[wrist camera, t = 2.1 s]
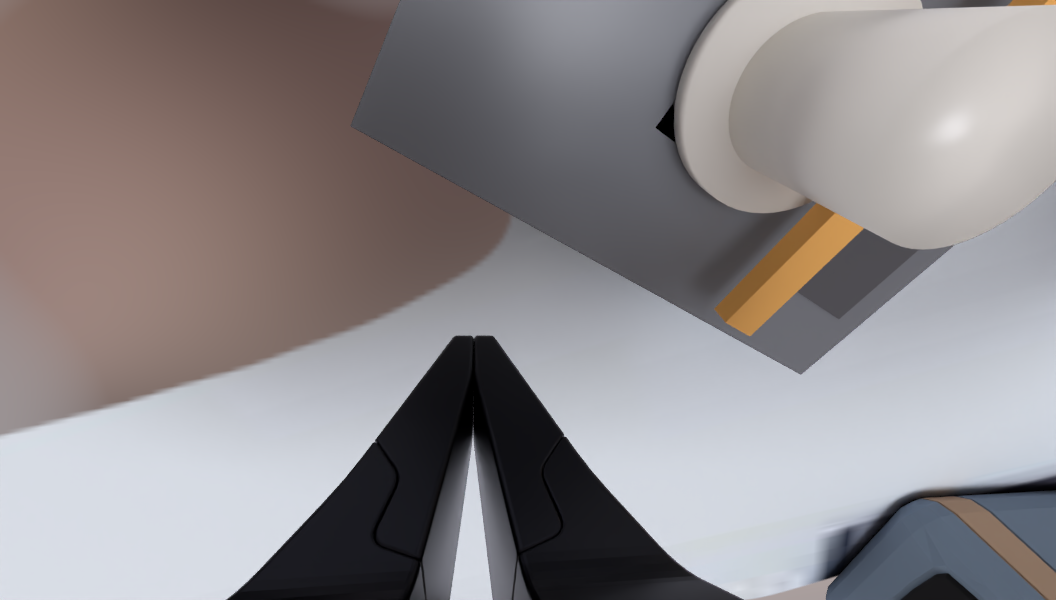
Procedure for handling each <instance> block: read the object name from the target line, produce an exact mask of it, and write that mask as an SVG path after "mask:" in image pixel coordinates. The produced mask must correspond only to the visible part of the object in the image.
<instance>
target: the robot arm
mask: <svg viewBox="0 0 1056 600" xmlns="http://www.w3.org/2000/svg"><path fill="white" fill-rule="evenodd" d="M473 437H474V448H475V456H476V465H477V473H478V481H479V489H480V498H481V506H482V514H483V522H484V531H485V539H486V547H487V556H488V564H489V572H490V580H491V589H492V597H493V600H743V599H741V598H739V597H737V596H735V595H733V594H731V593H729V592H727V591H725V590H723V589H721V588H719V587H717V586H715V585H713V584H711V583H709V582H707V581H704V580H702V579H701V578H699V577H697V576H695V575H694V574H692V573H691V572H689V571H688V570H686V569H685V568H684V567H682V566H681V565H680V564H679V563H677V562H676V561H675V560H674V559H673V558H672V557H671V556H669V555H668V554H667V553H666V552H665V551H664V550H663V549H662V548H661V547H660V546H659V545H658V543H657V542H656V541H655V540H654V539H653V538H652V537H651V536H650V535H649V534H648V533H647V532H646V530H645V529H644V528H643V527H642V526H641V525H640V524H639V523H638V522H637V521H636V520H635V518H634V517H633V516H632V515H631V514H630V513H629V512H628V511H627V510H626V509H625V508H624V507H623V505H622V504H621V503H620V502H619V501H618V500H617V499H616V498H615V497H614V496H613V495H612V494H611V492H610V491H609V490H608V489H607V488H606V487H605V486H604V484H603V483H602V482H601V481H600V480H599V479H598V478H597V477H596V475H595V474H594V473H593V472H592V471H591V470H590V468H589V467H588V466H587V464H586V463H585V462H584V460H583V459H582V458H581V457H580V455H579V454H578V453H577V451H576V450H575V449H574V447H573V446H572V444H571V443H570V442H569V440H568V439H567V438H566V437H564V434H563V432H562V431H561V429H560V428H559V427H558V425H557V424H556V422H555V421H554V420H553V418H552V417H551V415H550V414H549V413H548V411H547V410H546V408H545V407H544V406H543V404H542V403H541V402H540V400H539V399H538V397H537V396H536V395H535V393H534V392H533V390H532V389H531V388H530V386H529V385H528V383H527V382H526V381H525V379H524V378H523V376H522V375H521V374H520V372H519V371H518V370H517V368H516V367H515V365H514V364H513V363H512V361H511V360H510V358H509V357H508V356H507V354H506V353H505V351H504V350H503V349H502V347H501V346H500V345H499V343H498V342H497V340H496V339H495V338H494V337H493V336H476V337H475V338H473V337H472V336H455V337H453V338H452V340H451V341H450V342H449V344H448V345H447V346H446V348H445V349H444V350H443V352H442V353H441V354H440V356H439V357H438V358H437V360H436V361H435V362H434V363H433V365H432V366H431V367H430V369H429V370H428V371H427V373H426V374H425V375H424V377H423V378H422V379H421V381H420V382H419V383H418V385H417V386H416V387H415V388H414V390H413V391H412V392H411V394H410V395H409V396H408V398H407V399H406V400H405V402H404V403H403V404H402V406H401V407H400V408H399V410H398V411H397V412H396V413H395V415H394V416H393V417H392V419H391V420H390V421H389V423H388V424H387V425H386V427H385V428H384V429H383V431H382V432H381V433H380V435H379V436H378V437H377V439H376V440H375V442H374V443H372V445H371V446H370V447H369V449H368V450H367V451H366V453H365V454H364V455H363V457H362V458H361V459H360V461H359V462H358V463H357V464H356V465H355V467H354V468H353V469H352V470H351V472H350V473H349V474H348V475H347V477H346V478H345V479H344V480H343V481H342V482H341V484H340V485H339V486H338V487H337V488H336V489H335V490H334V491H333V492H332V493H331V495H330V496H329V497H328V498H327V499H326V500H325V501H324V502H323V503H322V504H321V506H320V507H319V508H318V509H317V510H316V511H315V512H314V513H313V514H312V515H311V516H310V517H309V518H308V519H307V520H306V521H305V522H304V523H303V525H302V526H301V527H300V528H299V529H298V530H297V531H296V532H295V533H294V534H293V535H292V536H291V537H290V538H289V539H288V540H287V541H286V542H285V543H284V545H283V546H282V547H281V548H280V549H279V550H278V551H277V552H276V553H275V554H274V555H273V556H272V557H271V558H270V559H269V560H268V561H267V562H266V563H265V565H264V566H263V567H262V568H261V569H260V570H259V571H258V572H257V573H256V574H255V575H254V576H253V577H252V578H251V579H250V580H249V581H248V582H247V583H245V584H244V585H243V586H242V587H241V588H240V589H239V590H238V591H237V592H235V593H234V594H233V595H232V596H230V597H229V598H228V599H226V600H450V594H451V587H452V580H453V573H454V566H455V559H456V552H457V545H458V538H459V531H460V524H461V517H462V510H463V503H464V496H465V489H466V482H467V475H468V468H469V461H470V454H471V447H472V438H473Z"/></svg>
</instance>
